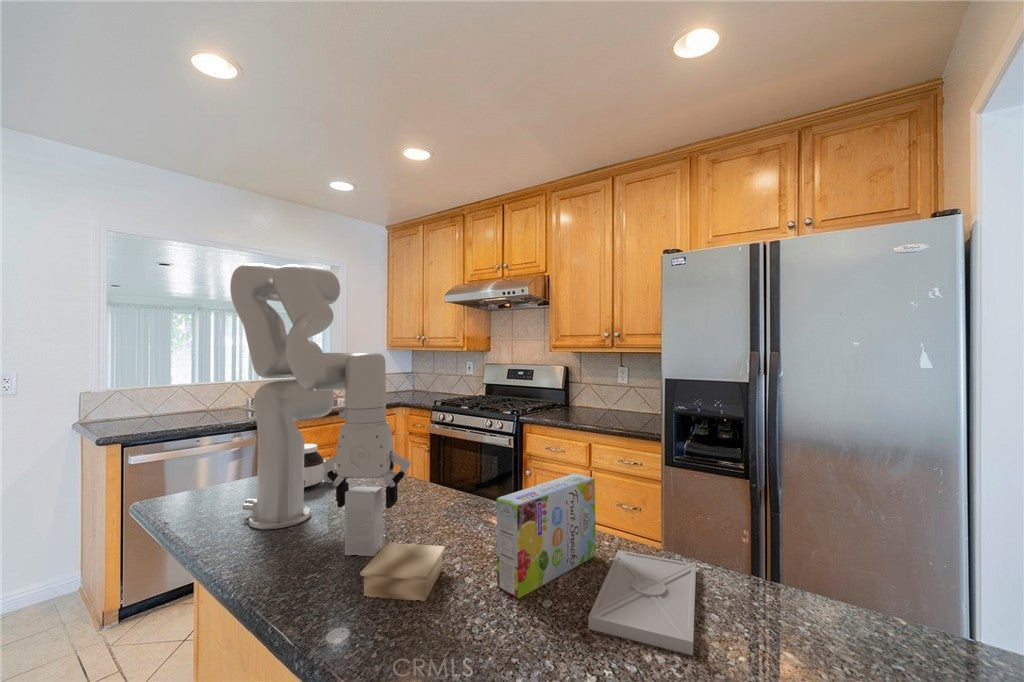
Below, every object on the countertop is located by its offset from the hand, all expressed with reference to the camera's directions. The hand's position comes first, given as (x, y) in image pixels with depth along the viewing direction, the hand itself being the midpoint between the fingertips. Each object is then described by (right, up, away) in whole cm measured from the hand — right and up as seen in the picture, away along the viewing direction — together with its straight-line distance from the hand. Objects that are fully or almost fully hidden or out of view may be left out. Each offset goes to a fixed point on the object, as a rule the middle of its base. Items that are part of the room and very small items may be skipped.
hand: (366, 505), depth 86 cm
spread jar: (-29, -10, +41) cm, 51 cm away
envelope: (+50, -10, -15) cm, 53 cm away
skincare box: (-1, -9, 0) cm, 9 cm away
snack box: (+35, -9, -7) cm, 37 cm away
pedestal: (+10, -9, -11) cm, 17 cm away
